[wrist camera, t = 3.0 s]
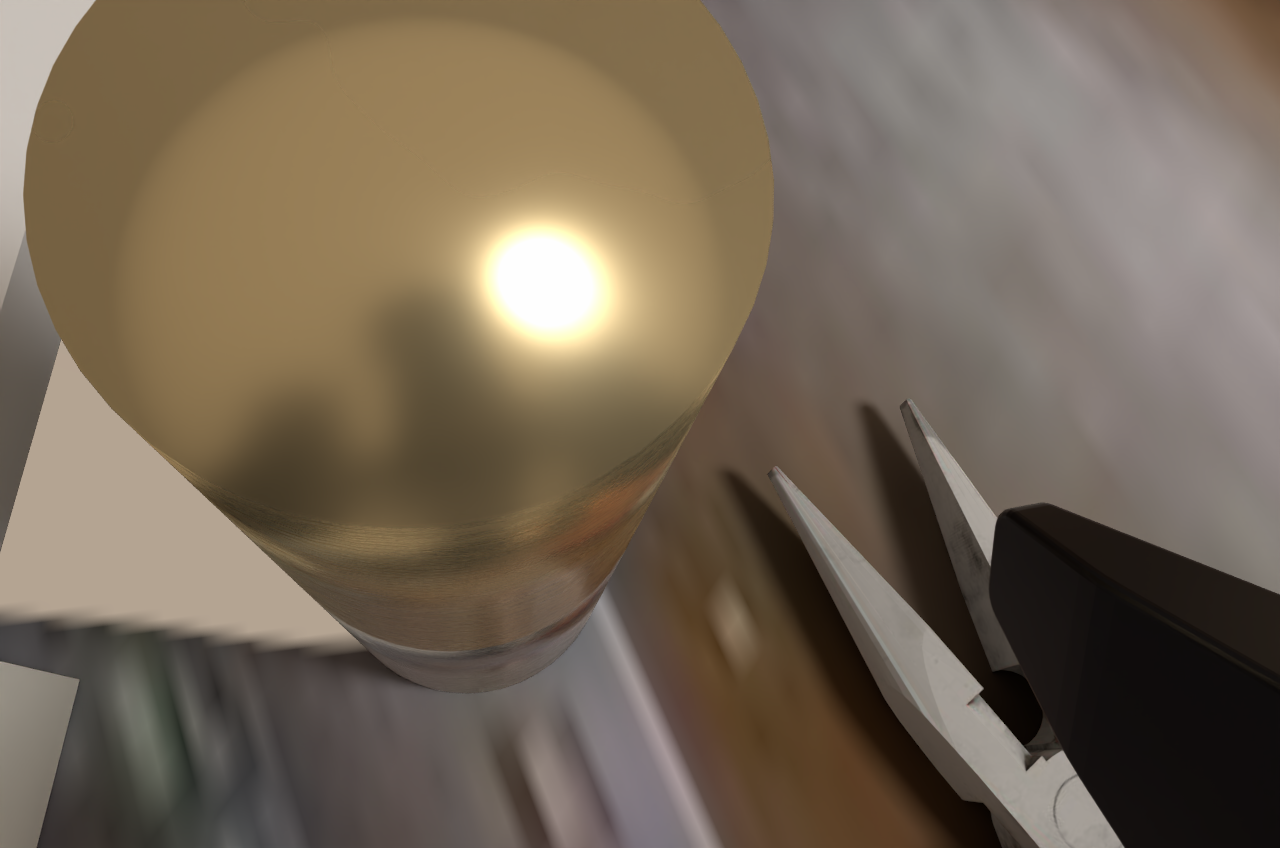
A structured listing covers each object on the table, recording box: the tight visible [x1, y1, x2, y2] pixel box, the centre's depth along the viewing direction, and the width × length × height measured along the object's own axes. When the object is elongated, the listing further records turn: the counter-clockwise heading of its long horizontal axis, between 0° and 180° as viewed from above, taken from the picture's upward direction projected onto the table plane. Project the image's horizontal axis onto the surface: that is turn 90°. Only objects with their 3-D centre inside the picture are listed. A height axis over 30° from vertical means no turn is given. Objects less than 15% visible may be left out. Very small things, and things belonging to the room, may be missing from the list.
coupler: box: [23, 0, 774, 693], centre depth 13 cm, size 4×4×13 cm
